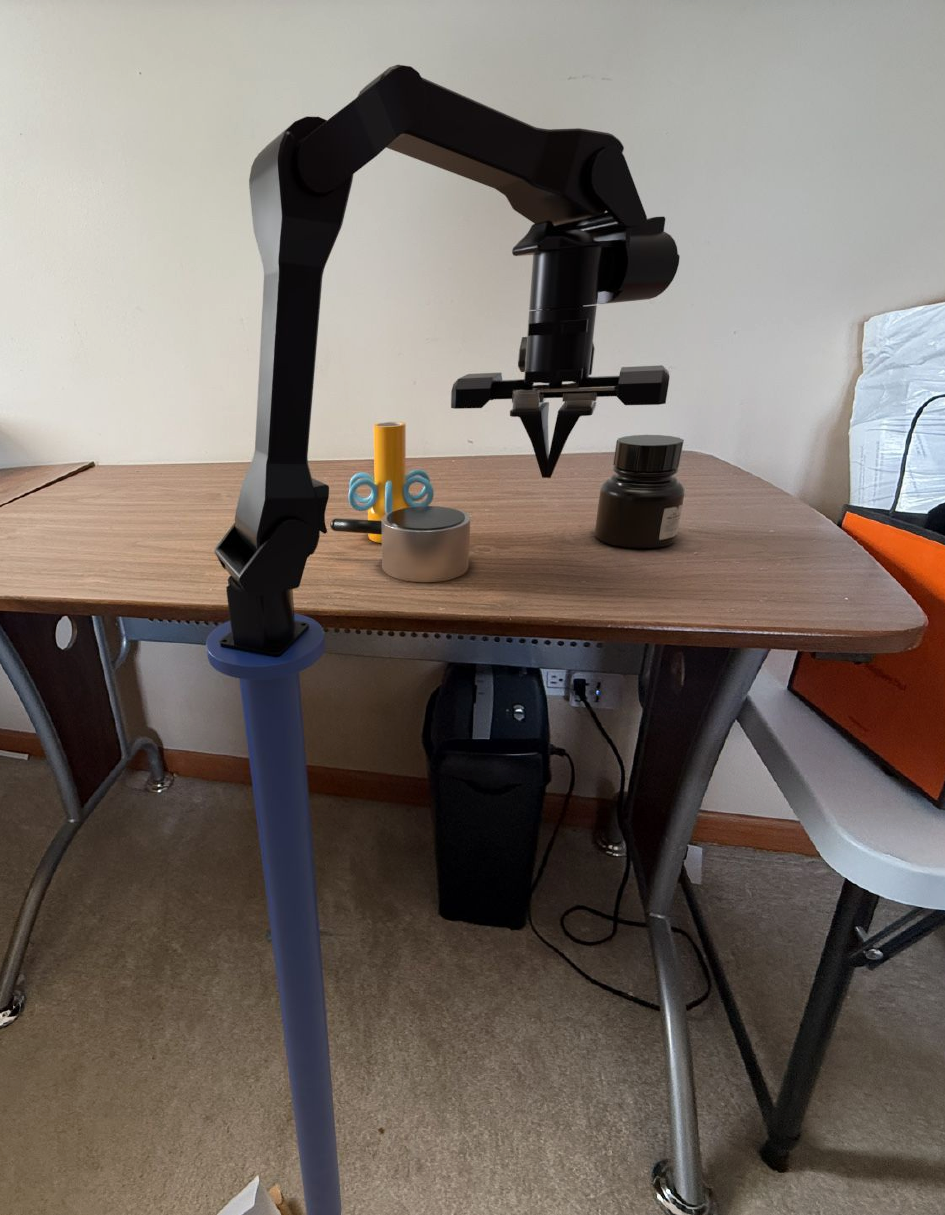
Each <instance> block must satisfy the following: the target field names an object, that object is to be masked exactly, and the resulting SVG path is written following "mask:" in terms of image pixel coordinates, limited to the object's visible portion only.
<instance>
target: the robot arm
mask: <svg viewBox="0 0 945 1215" xmlns="http://www.w3.org/2000/svg"><path fill="white" fill-rule="evenodd" d="M385 149H388V150H391V151H394V152H397V153H399V154H402V155H404V156H407V157H410V158H412V159H415V160H417V161H421V162H422V163H426V164H429V165H431V166H434V167H436V168H439V169H442V170H445V171H447V172H450V173H452V174H455V175H458V176H460V177H463V178H466V179H469V180H471V181H474V182H476V183H479V184H481V185H485V186H487V187H489V188H492V189H495V190H496V191H497V192H499V193H500V194H502V195H504V196H505V198H506V200H507V202H508V203H509V204H510V206H511V208H512V209H513V210H514V211H515V212H516V213H518V214H519V215H521V216H523V217H524V218H525V219H527V220H528V221H529V222H531V223H532V225H531V226H530V227H529V230H528V232H527V233H526V234H525V235H524V236H523V237H522V238H521V239H520V240H519V241H518V242H517V243H516V245H515V246H513V247H512V249H511V254H512V256H514V257H524V256H532V265H531V279H530V280H531V281H530V294H529V309H528V310H529V311H528V320H527V336H522V337H521V340H520V345H519V350H518V357H517V368H518V369H519V372H521V373H524V374H523V375H524V376H523V378H522V379H521V378H520V379H503V374H502V372H481V373H468V374H465V375H463V376H461V377H459V378H457V379H456V380H455V381H454V383H453V384H452V388H451V390H450V391H451V392H450V394H451V395H450V408H451V409H456V410H457V409H459V410H460V409H461V410H462V409H483V407H485V405H487V404H488V403H489V402H490V401H493V400H511V403H512V408H511V409H510V410H509V416H510V417H512V418H519V419H520V421H521V424H522V425H523V428H524V429H525V432H526V434H527V436H528V438H529V441H530V443H531V446H532V448H533V452H534V455H535V459H536V462H537V465H538V468H539V471H540V475H541V478H542V479H551V478H552V476H553V475H554V474H553V473H554V472H555V469H556V466H557V464H558V462H559V459H560V457H561V455H562V453H563V450H564V447H565V445H566V443H567V440H568V438H569V436H570V434H571V433H572V432H573V429H574V427H575V426H576V424H577V422H578V421H579V419H580V418H581V417H588V416H593V415H594V412H595V410H596V406H597V400H598V398H602V397H603V398H604V397H607V398H609V397H616V398H617V399H618V400H619V401H620V402H621V403H623V405H624V406H660V405H665V404H667V397H668V392H669V385H670V376H671V375H670V373H669V370H668V369H667V368H665V366H664V365H661V364H660V365H639V366H638V365H637V366H621V368H620V371H619V375H602V376H592V374H593V368H594V367H593V366H594V358H595V357H594V356H595V349H596V348H595V344H594V333H595V325H596V316H597V308H598V306H597V305H598V304H599V305H605V304H607V305H608V304H616V303H626V302H636V301H637V302H638V301H646V300H652V299H655V298H657V297H658V296H660V295H661V294H663V293H664V292H665V291H666V290H667V289H668V288H669V286H670V285H671V284H672V282H673V281H674V279H675V277H676V274H677V273H678V268H679V265H680V254H679V253H678V246H677V243H676V241H675V239H674V238H673V237H672V235H671V234H669V233H668V232H666V231H665V226H666V216H653V217H649V218H648V217H647V213H646V211H645V209H644V206H643V203H642V200H641V197H640V195H639V193H638V192H639V191H638V190H637V187H636V184H635V181H634V178H633V176H632V174H631V171H630V167H629V165H628V162H627V160H626V157H625V155H624V150H625V147H624V144H623V143H622V141H621V140H620V139H619V138H618V137H617V136H615V135H614V134H612V133H609V132H603V131H599V130H592V129H586V128H579V127H577V128H553V129H551V128H550V129H548V128H541V127H536V126H534V125H531V124H529V123H527V122H524V121H522V120H520V119H518V118H515V117H513V116H511V115H508V114H507V113H504V112H502V111H500V110H497V109H495V108H492V107H491V106H488V105H485V104H483V103H482V102H480V101H477V100H474V99H472V98H470V97H468V96H466V95H463V94H460V93H458V92H456V91H454V90H452V89H450V88H447V87H445V86H442V85H440V84H439V83H436V82H434V81H430V80H429V79H427V78H425V77H422V75H421V74H420V73H419V71H417V69H415V68H414V67H413V66H411V65H403V64H395V65H392V66H389V67H388V68H387V69H385V70H384V71H383V72H381V73H380V74H379V75H377V77H375V78H374V79H372V80H370V81H369V83H368V84H366V86H364V87H363V88H362V89H361V90H360V91H359V92H358V95H357V96H356V98H354V99H353V100H352V101H350V102H349V103H348V104H347V105H345V106H344V107H342V108H341V109H340V110H339V111H337V112H336V113H335V114H334V115H332V116H331V117H329V118H328V119H325V118H323V117H320V116H304V117H302V118H299V119H298V120H297V119H296V120H295V121H293V123H292V124H290V125H289V126H288V127H287V128H286V129H284V130H283V131H282V132H281V133H279V135H277V136H276V137H275V138H274V139H273V140H272V141H270V142H269V143H268V144H267V145H265V147H264V148H263V149H262V150H261V151H260V152H259V153H258V154H257V155H256V157H255V158H254V159H253V162H252V165H251V166H250V167H251V168H250V173H249V178H248V186H249V187H248V188H249V199H250V208H251V217H252V220H251V221H252V229H253V234H254V237H255V242H256V244H257V249H258V252H259V256H260V261H261V263H262V268H263V286H262V289H263V290H262V306H261V307H262V308H261V326H260V345H259V366H258V382H257V384H258V385H257V401H256V422H255V426H256V427H255V442H254V451H253V452H254V453H253V456H252V459H251V462H250V464H249V466H248V468H247V471H246V473H245V475H244V479H243V480H242V483H241V486H240V490H239V496H238V500H237V504H236V505H237V506H236V510H235V515H234V523H233V524H232V525H231V527H230V528H229V529H228V531H227V532H226V533H225V535H224V536H223V537H222V538H221V540H220V541H219V542H218V544H217V545H216V546H215V547H214V551H213V552H214V554H215V556H216V558H217V560H218V562H219V563H220V566H221V567H222V568H223V570H225V571H226V572H227V573H228V574H229V577H228V578H227V586H226V587H225V590H226V598H227V606H228V613H229V621H230V623H231V632H230V633H228V634H227V635H226V636H225V637H223V638H222V639H221V640H220V641H219V644H220V647H223V648H229V649H234V650H239V651H244V652H250V653H255V654H260V655H265V656H271V657H280V656H282V655H283V654H284V653H285V652H286V651H287V650H288V649H289V648H290V647H291V646H292V645H293V644H294V643H295V642H296V641H297V640H298V639H299V638H300V637H301V636H302V635H303V634H304V633H305V632H306V631H307V630H308V629H309V623H306V622H300V621H294V617H295V616H294V613H295V605H294V604H295V603H294V593H293V590H295V589H298V588H299V587H301V586H300V585H301V582H302V578H303V575H304V571H305V567H306V564H307V561H308V558H309V557H310V556H312V555H314V554H315V552H316V550H317V548H318V545H319V541H320V536H321V533H322V534H324V535H326V534H327V533H328V528H327V526H326V525H327V524H326V509H327V505H328V502H329V497H330V486H329V485H328V484H326V483H323V482H322V481H320V480H318V479H315V478H314V477H312V474H311V470H310V466H309V458H308V457H309V456H308V455H309V443H310V431H311V421H312V420H311V418H312V409H313V396H314V385H315V384H314V383H315V372H316V360H317V346H318V336H319V322H320V313H321V312H320V310H321V299H322V288H323V287H322V285H323V276H324V271H325V268H326V265H327V262H328V260H329V258H330V255H331V253H332V252H333V248H334V246H335V243H336V241H337V239H338V237H339V234H340V231H341V229H342V226H343V224H344V219H345V215H346V211H347V206H348V202H349V198H350V193H351V189H352V186H353V179H354V174H356V173H357V172H358V171H359V170H361V169H362V168H363V167H364V166H366V165H367V164H368V163H370V162H371V161H372V160H373V159H375V158H376V157H377V156H378V155H380V154H381V153H382V152H383V151H384V150H385ZM566 382H567V383H566ZM569 382H570V383H569ZM546 399H562V402H564V403H562V405H561V406H560V407H559V409H558V410H557V414H556V420H555V425H554V428H553V433H552V438H551V443H550V444H549V442H550V441H549V411H550V410H549V409H550V408H549V407H550V402H549V401H546Z"/></svg>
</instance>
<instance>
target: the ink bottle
mask: <svg viewBox="0 0 945 1215" xmlns="http://www.w3.org/2000/svg"><path fill="white" fill-rule="evenodd" d="M615 443H616V444H615V450H614V456H613V464H612V465H613V467H612V471H613V473H614V474H612V475H611V476H610V478H608V479H606V480H605V481H604V482H602V484H601V486H600V491H599V497H598V505H597V513H596V520H595V527H594V535H595V537H596V538H598V539H599V540H600V541H601V542H603V543H606V544H609V545H611V546H616V547H622V548H630V549H631V548H632V549H656V548H662V547H667V546H669V545H671V544H673V543H674V542H675V541H676V539H677V534H678V531H679V525H680V520H681V515H682V509H683V504H684V499H685V492H686V490H685V487H684V485H683V483H681V482H680V481H678V478H677V477H676V476H675V475H676V474H678V472H679V468H680V463H681V458H682V451H683V447H684V446H683V445H684V439H683V438H680V437H679V436H673V435H662V434H634V435H626V436H621V437H618V438H617V440H616V442H615Z"/></svg>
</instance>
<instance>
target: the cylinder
mask: <svg viewBox="0 0 945 1215" xmlns="http://www.w3.org/2000/svg"><path fill="white" fill-rule="evenodd" d="M406 427H407V426H406V422H404V421H386V422H385V421H384V422H383V421H382V422H378V423H374V424H373V466H374V467H373V468H374V471H373V472H374V473H373V474H374V475H373V476H374V477H373V476H372V475H371V474H370V473H368V472H364V471H363V472H357V473H355V474H354V475H352V477H351V478H350V480H349V484H348V486H349V487H348V488H349V490H348V494H347V499H348V503H349V505H350V507H351V508H352V509H353V510H355V511H356V512H366V511H367V520H375V521H382V517H383V516H384V515H385V514H387V513H389V512H391V511H394V510H398V509H402V508H408V507H417V506H430V505H431V503H432V502H433V500H434V497H435V495H434V494H435V492H434V487H433V485H432V483H431V479H430V476H429V473H427V472H426V471H425V470H423V469H419V468H417V469H413V470H411V471H409V472H408V473H407V474H406V469H407V468H406V465H407V463H406V462H407V461H406V460H407V459H406V458H407V454H406V450H407V449H406V446H407V444H406V441H407V439H406V437H407V433H406V432H407V430H406V429H407V428H406ZM416 483H418V484H421V485H423V488H422V490H421V491H420V492H419V493H417V494H416V495H414V494H411V493H410V487H411V485H413V484H416ZM361 486H368V487H369V488H370V490H371V491H370V494H369V495H368V496H367V497H362V496H361V495H359V494H358V493H357V491H358V490H357V489H358V488H360V487H361ZM425 496H426V498H425ZM423 498H425V500H423V501H422V502H418V501H420V500H422V499H423ZM357 502H358V503H359V504H358V503H357ZM361 504H362V505H361ZM367 536H368V539H369V540H370V541H372V542H375V543H377V544H378V543H379V544H382V534H368V533H367Z"/></svg>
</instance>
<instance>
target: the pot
mask: <svg viewBox="0 0 945 1215" xmlns="http://www.w3.org/2000/svg"><path fill="white" fill-rule="evenodd" d="M329 527H330V529H331V530H332V531H333V532H340V533H353V534H354V533H355V534H367V535H368V534H382V543H381V569H382V571H383V572H384V573H385V574H386V575H388V576H389V577H391V578H394V579H397V580H400V581H404V582H405V581H406V582H413V583H438V582H445V581H450V580H453V579H456V578H459V577H461V576H462V575H465V573H467V571H468V569H469V560H470V559H469V558H470V536H471V516H470V515H469V514H468V513H467V512H466V511H463V510H461V509H458V508H453V507H448V506H440V505H439V506H438V505H428V506H417V507H408V508H402V509H398V510H394V511H391V512H389V513H387V514H385V515H384V516H383V517H382V521H375V520H368V519H354V518H338V517H336V518H335V517H334V518H333V519H332V520H331V521H330V523H329Z"/></svg>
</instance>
